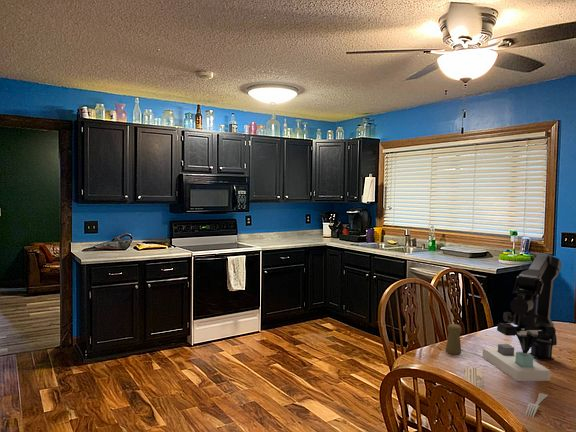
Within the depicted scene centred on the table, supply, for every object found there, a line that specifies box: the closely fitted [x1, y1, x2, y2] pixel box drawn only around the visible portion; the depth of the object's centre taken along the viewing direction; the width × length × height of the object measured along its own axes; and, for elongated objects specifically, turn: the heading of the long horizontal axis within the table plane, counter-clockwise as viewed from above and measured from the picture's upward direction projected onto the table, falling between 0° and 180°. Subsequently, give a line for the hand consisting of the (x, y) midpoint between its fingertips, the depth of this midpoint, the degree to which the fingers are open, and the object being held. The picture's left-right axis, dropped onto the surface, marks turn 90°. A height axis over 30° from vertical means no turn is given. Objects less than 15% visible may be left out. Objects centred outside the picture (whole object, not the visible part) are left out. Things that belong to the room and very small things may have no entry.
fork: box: [525, 392, 549, 419], centre depth 134 cm, size 3×21×3 cm, turn 139°
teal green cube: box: [515, 351, 535, 367], centre depth 156 cm, size 4×4×4 cm
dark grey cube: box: [497, 343, 515, 356], centre depth 167 cm, size 4×4×4 cm
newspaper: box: [463, 366, 484, 390], centre depth 148 cm, size 24×7×2 cm, turn 157°
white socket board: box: [482, 347, 551, 382], centre depth 162 cm, size 12×22×4 cm, turn 6°
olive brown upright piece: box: [445, 323, 462, 355], centre depth 177 cm, size 6×6×11 cm
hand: (524, 353), depth 156 cm, fingers closed
